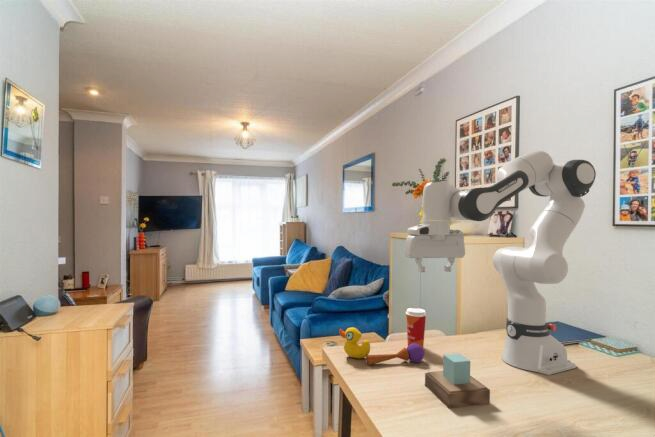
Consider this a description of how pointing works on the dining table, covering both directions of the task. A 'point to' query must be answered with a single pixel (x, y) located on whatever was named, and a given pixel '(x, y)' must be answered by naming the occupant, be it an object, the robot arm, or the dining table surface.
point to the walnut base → (457, 391)
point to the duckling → (354, 343)
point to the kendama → (399, 355)
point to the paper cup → (415, 326)
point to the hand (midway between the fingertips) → (434, 271)
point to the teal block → (456, 368)
